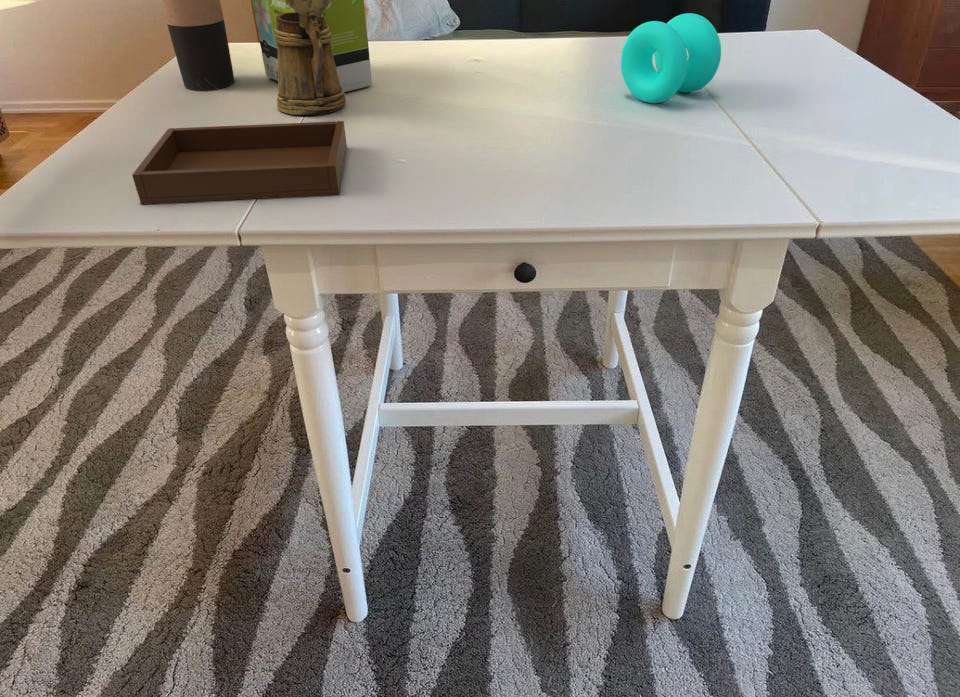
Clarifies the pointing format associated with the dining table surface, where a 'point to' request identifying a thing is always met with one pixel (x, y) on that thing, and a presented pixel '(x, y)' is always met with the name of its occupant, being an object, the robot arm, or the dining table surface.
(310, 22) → the wooden mug
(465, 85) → the dining table surface
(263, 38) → the tea box
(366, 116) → the dining table surface
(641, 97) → the donuts
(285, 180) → the serving tray
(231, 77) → the travel mug
